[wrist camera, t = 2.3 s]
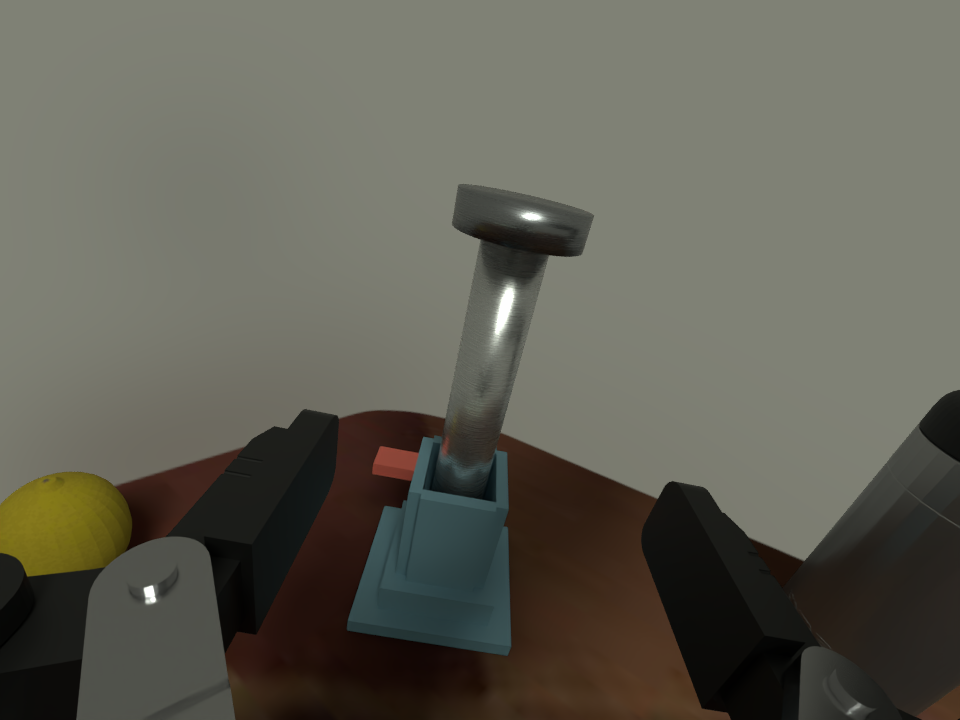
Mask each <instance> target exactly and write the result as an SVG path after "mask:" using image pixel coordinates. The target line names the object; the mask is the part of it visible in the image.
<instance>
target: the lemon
mask: <svg viewBox="0 0 960 720" xmlns="http://www.w3.org/2000/svg"><path fill="white" fill-rule="evenodd" d="M131 531H132V518H131V514H130V511H129V507H128V504H127V502H126V500H125V499H124V497H123V496H122V494H121V493H120V492H119V491H118V490H117V489H116V488H115V487H114V486H113V485H112V484H111V483H110V482H109V481H107V480H106V479H103V478H101V477H99V476H97V475H94V474H89V473H84V472H62V473H55V474H51V475H47V476H44V477H41V478H38V479H36V480H33V481H31V482H29V483H27V484H26V485H24V486H22V487H21V488H19V489H18V490H16V491H15V492H13V493H12V494H11V495H10V496H9V497H8V498H7V499H5V500H4V501H3V502H2V503H1V505H0V553H4V554H9V555H11V556H14V557H16V558H17V559H18V560H19V561H20V562H21V563H22V565H23V567H24V570H25V572H26V574H27V577H28V576H37V575H46V574H55V573H64V572H72V571H81V570H90V569H97V568H103V567H106V566H107V565H109V564H110V563H111V562H112V561H113V560H114V559H116V558H117V557H119V556H120V555H121V554H123V553H125V551H126V549H127V547H128V545H129V542H130V537H131Z"/></svg>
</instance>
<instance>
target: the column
mask: <svg viewBox="0 0 960 720" xmlns="http://www.w3.org/2000/svg"><path fill="white" fill-rule="evenodd" d="M593 217H594V215H593V214H591V213H589V212H586V211H584V210H581V209H578V208H575V207H572V206H568V205H565V204H561V203H558V202H553V201H550V200H546V199H541V198H538V197H534V196H529V195H525V194H520V193H516V192H511V191H506V190H500V189H496V188H490V187H484V186H477V185H467V184H460V185H458V190H457V197H456V202H455V209H454V215H453V221H452V225H453V226H454V227H455V228H456V229H457V230H459V231H461V232H463V233H465V234H467V235H470V236H472V237H475V238H478V239H481V241H480V246H479V251H478V256H477V262H476V267H475V272H474V276H473V282H472V287H471V292H470V297H469V302H468V307H467V313H466V317H465V322H464V328H463V332H462V338H461V343H460V349H459V353H458V358H457V363H456V368H455V373H454V379H453V383H452V389H451V394H450V399H449V404H448V409H447V414H446V419H445V424H444V429H443V434H442V439H441V445H440V450H439V455H438V460H437V465H436V470H435V475H434V480H433V485H432V490H431V491H435V492H441V493H446V494H452V495H458V496H463V497H469V498H474V499H480V500H482V498H483V494H484V490H485V487H486V483H487V479H488V476H489V472H490V469H491V465H492V461H493V458H494V454H495V450H496V447H497V443H498V439H499V436H500V432H501V428H502V425H503V421H504V417H505V414H506V410H507V407H508V403H509V399H510V395H511V392H512V388H513V385H514V381H515V377H516V373H517V370H518V366H519V363H520V359H521V356H522V352H523V348H524V345H525V341H526V337H527V334H528V330H529V326H530V322H531V319H532V315H533V311H534V308H535V304H536V301H537V297H538V294H539V290H540V286H541V283H542V279H543V275H544V271H545V268H546V264H547V261H548V257H549V255H553V256H564V257H572V256H579V255H581V254H582V252H583V250H584V246H585V243H586V240H587V237H588V233H589V230H590V227H591V224H592V221H593Z"/></svg>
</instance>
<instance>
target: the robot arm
mask: <svg viewBox="0 0 960 720" xmlns="http://www.w3.org/2000/svg"><path fill="white" fill-rule="evenodd" d="M338 427H339V419H338V416H337V415H332V414H327V413H322V412H317V411H311V410H307V409H304V410H303V411H301V413H300V414H299V415H298V416H297V418H296V419H295V420H294V422H293V423H292V424H291V425H290V427H289V428H288V429H285V428H280V427H275V426H274V427H272V428H271V429H269V430H267V431H265V432H264V433H262V434H260V435H258V436H257V437H255V438H253V439H252V440H251V441H250V442H249V443H248V444H247V446H246V447H245V448H244V449H243V450H242V451H241V452H240V454H239V455H238V457H237V459H234V460H233V461H232V463H231V464H230V465H229V466H228V467H227V468H226V469H225V472H224V474H221V475H220V476H219V477H218V478H217V480H216V481H215V482H214V483H213V484H212V485H211V486H210V488H209V489H208V490H207V491H206V492H205V493H204V494H203V496H202V497H201V498H200V499H199V500H198V501H197V502H196V503H195V505H194V506H193V507H192V508H191V509H190V510H189V511H188V513H187V514H186V515H185V516H184V517H183V518H182V519H181V521H180V522H179V523H178V524H177V525H176V526H175V527H174V528H173V530H172V531H171V532H170V533H169V534H168V535H167V536H166V537H165V538H159V539H155V540H151V541H148V542H145V543H143V544H140V545H138V546H136V547H134V548H132V549H130V550H128V551H126V552H125V553H123V554H121V555H120V556H119V557H117V558H116V559H114V560H113V561H112V562H111V563H110V564H109V565H107V566H106V567H103V568H97V569H90V570H81V571H72V572H64V573H55V574H46V575H37V576H28V577H27V574H26V572H25V570H24V567H23V565H22V563H21V562H20V561H19V560H18V559H17V558H16V557H14V556H11V555H9V554H4V553H0V720H235V714H234V708H233V701H232V695H231V689H230V684H229V680H228V674H227V668H226V661H225V653H226V651H227V649H228V647H229V645H230V644H231V642H232V640H233V638H234V636H235V634H236V633H237V632H243V633H249V634H255V635H256V634H257V632H258V630H259V628H260V626H261V624H262V622H263V620H264V618H265V617H266V615H267V613H268V611H269V609H270V607H271V605H272V603H273V601H274V599H275V597H276V595H277V593H278V591H279V589H280V587H281V585H282V583H283V581H284V579H285V577H286V575H287V573H288V571H289V569H290V567H291V565H292V563H293V561H294V559H295V557H296V555H297V553H298V552H299V550H300V548H301V546H302V544H303V542H304V540H305V538H306V536H307V534H308V532H309V530H310V528H311V526H312V524H313V522H314V520H315V518H316V516H317V514H318V512H319V510H320V508H321V506H322V504H323V502H324V500H325V498H326V496H327V494H328V492H329V490H330V487H331V484H332V481H333V478H334V473H335V468H336V455H337V441H338ZM641 542H642V549H643V553H644V556H645V558H646V561H647V564H648V566H649V569H650V572H651V574H652V577H653V580H654V582H655V585H656V588H657V590H658V593H659V595H660V598H661V601H662V603H663V606H664V609H665V611H666V614H667V617H668V619H669V622H670V625H671V627H672V630H673V633H674V635H675V638H676V641H677V643H678V646H679V649H680V651H681V654H682V657H683V659H684V662H685V665H686V667H687V670H688V672H689V675H690V678H691V680H692V683H693V686H694V688H695V691H696V694H697V696H698V699H699V702H700V704H701V707H702V709H708V710H714V711H720V712H727V713H728V714H729V716H730V718H731V720H921V719H919V718H917V717H915V716H917V715H919V714H920V713H921V712H923V711H924V710H926V709H927V708H928V707H930V706H931V705H933V704H934V703H935V702H937V701H938V700H939V699H941V698H942V697H944V696H945V695H946V694H948V693H949V692H951V691H952V690H953V689H955V688H956V687H957V686H959V685H960V390H957V391H953V392H951V393H948V394H946V395H945V396H943V397H942V398H941V399H940V400H939V401H938V402H937V403H936V404H935V405H934V406H933V407H932V408H931V410H930V411H929V412H928V413H927V414H926V416H925V417H924V418H923V419H922V420H921V422H920V423H919V424H918V425H917V426H916V428H915V429H914V430H913V431H912V432H911V434H910V435H909V436H908V437H907V438H906V440H905V441H904V442H903V443H902V444H901V446H900V447H899V448H898V449H897V450H896V452H895V453H894V454H893V455H892V456H891V458H890V459H889V460H888V462H887V463H886V464H885V465H884V466H883V468H882V469H881V470H880V471H879V472H878V474H877V475H876V476H875V477H874V478H873V480H872V481H871V482H870V483H869V484H868V486H867V487H866V488H865V489H864V490H863V492H862V493H861V494H860V495H859V497H858V498H857V499H856V500H855V501H854V502H853V504H852V505H851V506H850V508H848V510H847V511H846V512H845V513H844V515H843V516H842V517H841V518H840V519H839V521H838V522H837V523H836V524H835V525H834V527H833V528H832V529H831V530H830V531H829V533H828V534H827V535H826V536H825V537H824V539H823V540H822V541H821V542H820V543H819V545H818V546H817V547H816V548H815V549H814V551H813V552H812V553H811V554H810V555H809V557H808V558H807V559H806V560H805V561H804V563H803V564H802V565H801V566H800V567H799V569H798V570H797V571H796V572H795V573H794V575H793V576H792V577H791V578H790V579H789V581H788V582H787V583H786V584H785V585H784V587H783V588H781V586H780V585H779V583H778V582H777V580H776V579H775V577H774V576H772V575H770V570H769V568H768V567H767V565H766V564H765V562H764V561H763V559H762V558H760V557H759V556H758V554H759V553H758V552H757V550H756V549H755V547H754V546H753V544H752V543H751V541H750V540H749V538H748V537H747V535H746V534H745V532H744V531H742V530H741V529H740V528H739V527H738V526H737V525H736V524H735V523H734V522H733V521H732V520H731V519H730V518H729V517H728V516H727V515H726V514H725V513H722V512H721V510H720V509H719V507H718V506H717V504H716V502H715V501H714V499H713V498H712V496H711V495H710V493H709V492H708V490H706V489H705V488H703V487H700V486H694V485H689V484H684V483H679V482H674V481H672V482H669V483H668V484H667V485H666V486H665V487H664V489H663V491H662V492H661V494H660V496H659V498H658V500H657V502H656V504H655V505H654V507H653V509H652V511H651V513H650V515H649V517H648V518H647V520H646V522H645V524H644V527H643V530H642V537H641ZM958 720H960V719H958Z"/></svg>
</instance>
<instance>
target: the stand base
mask: <svg viewBox="0 0 960 720" xmlns="http://www.w3.org/2000/svg"><path fill="white" fill-rule="evenodd" d="M441 439H442V437H440V436H434V439H433V438H427V437H423V440H422V444H421V448H420V451H419V453H415V452H410V451H405V450H399V449H394V448H388V447H383V446H380V448H379V451H378V453H377V456H376V458H375V461H374V463H373V472H372V474H376V475H381V476H387V477H392V478H398V479H404V480H409V481H411V485H410V489H409V494H408V500H407V501H405V500H404V501H403V505H402V509H400V508H395V507H389V506H385V507H384V510H383V513H382V516H381V519H380V522H379V525H378V528H377V531H376V535H375V538H374V541H373V544H372V547H371V550H370V553H369V556H368V559H367V562H366V566H365V569H364V572H363V575H362V578H361V581H360V584H359V587H358V590H357V593H356V596H355V600H354V603H353V606H352V609H351V612H350V615H349V618H348V623H347V631H353V632H360V633H366V634H372V635H379V636H385V637H391V638H398V639H404V640H410V641H417V642H423V643H429V644H436V645H442V646H448V647H455V648H461V649H467V650H473V651H480V652H486V653H492V654H499V655H505V656H508V653H509V651H510V648H511V623H510V586H509V549H508V527H503V526H504V523H505V519H506V516H507V513H508V510H509V503H508V470H507V452H503V451H497V447H496V450H495V454H494V458H493V461H492V465H491V469H490V472H489V476H488V479H487V483H486V487H485V490H484V494H483V498H482V500H480V499H474V498H469V497H463V496H458V495H452V494H446V493H441V492H435V491H431V490H432V485H433V480H434V475H435V470H436V465H437V460H438V455H439V450H440V445H441Z"/></svg>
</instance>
